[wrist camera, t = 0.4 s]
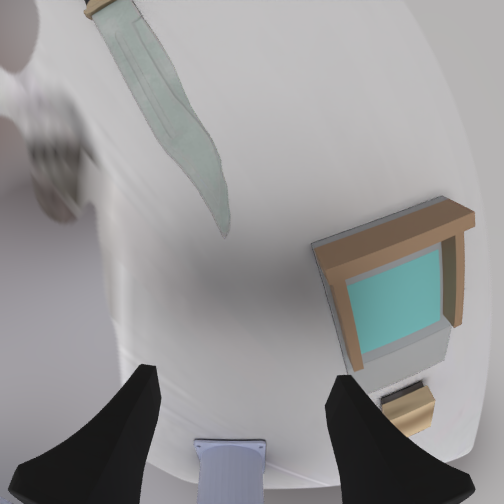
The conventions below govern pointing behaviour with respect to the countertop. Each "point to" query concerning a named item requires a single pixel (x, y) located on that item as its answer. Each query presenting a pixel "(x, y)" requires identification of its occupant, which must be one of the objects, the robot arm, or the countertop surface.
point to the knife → (162, 100)
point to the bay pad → (396, 302)
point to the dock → (385, 258)
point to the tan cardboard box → (410, 409)
